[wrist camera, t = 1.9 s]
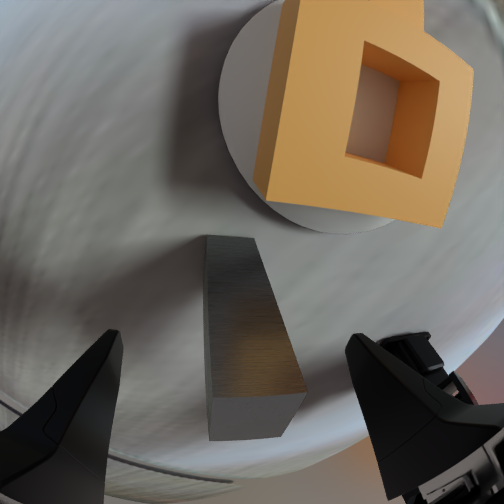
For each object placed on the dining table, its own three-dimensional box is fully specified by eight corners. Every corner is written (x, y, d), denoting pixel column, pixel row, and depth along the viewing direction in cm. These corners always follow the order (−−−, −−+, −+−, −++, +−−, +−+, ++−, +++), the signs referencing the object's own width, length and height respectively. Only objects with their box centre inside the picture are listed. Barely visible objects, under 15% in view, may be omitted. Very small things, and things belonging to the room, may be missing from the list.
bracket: (410, 238, 16) (446, 268, 12) (202, 216, 13) (201, 254, 10) (447, -7, 7) (485, -13, 4) (260, -88, 4) (275, -123, 1)
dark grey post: (245, 286, 15) (281, 436, 8) (203, 284, 15) (209, 440, 7) (254, 238, 14) (307, 391, 6) (206, 235, 14) (213, 397, 6)
